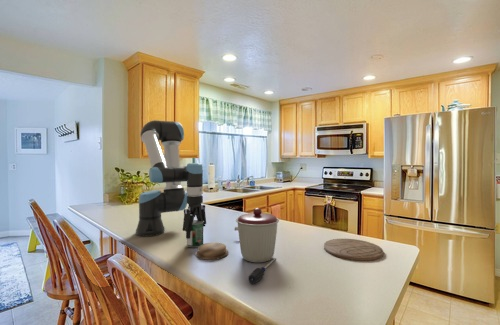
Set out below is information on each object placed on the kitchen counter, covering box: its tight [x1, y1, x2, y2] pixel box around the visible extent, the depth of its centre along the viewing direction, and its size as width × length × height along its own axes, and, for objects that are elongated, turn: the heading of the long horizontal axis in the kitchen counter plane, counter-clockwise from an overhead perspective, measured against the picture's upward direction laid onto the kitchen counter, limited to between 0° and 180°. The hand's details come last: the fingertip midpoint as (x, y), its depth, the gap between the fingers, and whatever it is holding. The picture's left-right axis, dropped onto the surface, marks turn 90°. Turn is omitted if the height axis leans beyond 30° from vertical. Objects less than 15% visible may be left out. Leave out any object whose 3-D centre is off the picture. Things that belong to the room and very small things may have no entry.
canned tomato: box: [186, 219, 204, 248], centre depth 128 cm, size 8×8×11 cm
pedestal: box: [195, 242, 229, 261], centre depth 117 cm, size 14×14×3 cm
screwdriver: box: [248, 257, 277, 285], centre depth 99 cm, size 26×4×4 cm, turn 157°
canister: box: [235, 207, 280, 264], centre depth 111 cm, size 18×18×21 cm
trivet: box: [323, 238, 384, 262], centre depth 120 cm, size 25×25×2 cm
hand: (195, 242), depth 129 cm, fingers closed on canned tomato, 8 cm apart
